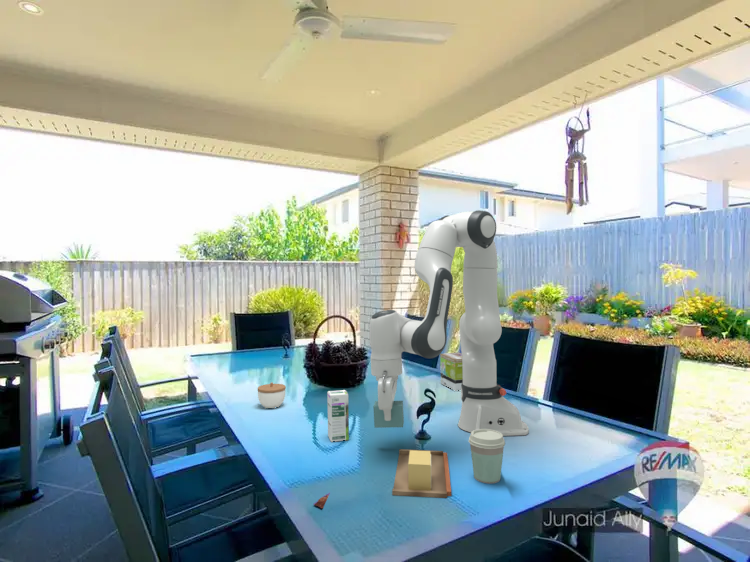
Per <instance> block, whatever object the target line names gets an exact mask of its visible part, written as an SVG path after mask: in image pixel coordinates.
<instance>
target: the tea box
mask: <svg viewBox="0 0 750 562" xmlns="http://www.w3.org/2000/svg"><path fill="white" fill-rule="evenodd" d="M439 355H440V356H439V358H440V359H439V361H440V362H439V365H440V367H439V368H440V384H441V385H442V386H445V387H446V386H447V388H448V387H449V388H448V389H450V388H451V389H450V390H452V389H453V390H455V391H457V390H461V384H462V383H463V363H462V352H459V351H457V352H446V353H440V354H439ZM453 390H452V391H453ZM455 391H454V392H455ZM457 392H458V391H457Z"/></svg>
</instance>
